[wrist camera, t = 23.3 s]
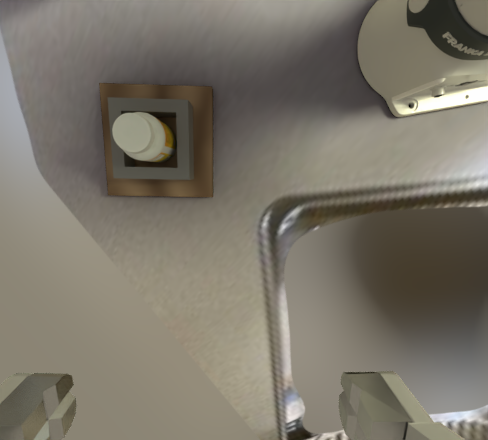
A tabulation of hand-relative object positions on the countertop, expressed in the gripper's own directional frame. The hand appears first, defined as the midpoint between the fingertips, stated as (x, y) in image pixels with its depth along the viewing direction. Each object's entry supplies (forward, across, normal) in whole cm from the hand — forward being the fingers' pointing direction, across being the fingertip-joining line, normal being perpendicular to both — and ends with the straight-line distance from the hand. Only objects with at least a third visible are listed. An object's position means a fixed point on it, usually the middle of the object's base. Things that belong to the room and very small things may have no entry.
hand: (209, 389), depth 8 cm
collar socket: (+33, +10, -10) cm, 36 cm away
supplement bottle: (+31, +10, -10) cm, 34 cm away
